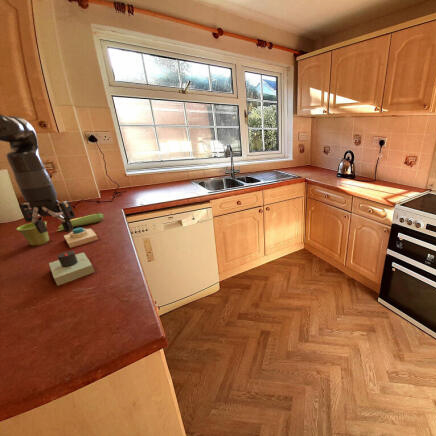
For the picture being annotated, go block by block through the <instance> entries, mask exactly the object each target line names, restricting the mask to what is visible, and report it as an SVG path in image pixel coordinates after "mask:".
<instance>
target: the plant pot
mask: <svg viewBox="0 0 436 436" xmlns="http://www.w3.org/2000/svg"><path fill="white" fill-rule="evenodd" d="M43 221H44V224H45V226H46V227H47V221H46V220H43ZM16 231H18V233H20V234H22V236H23V237H24V239H25V240H26V242H28V244H29V245H30V246H31V247H35V246H42V245H44V244H47V243H48V242H50V236H49V233H48V231H47V232H44V233H39V232H38V230H37V228H36V226H35V224H34V223H32V222H28V223H26V224H21V225H20V226H18V227H17V228H16Z"/></svg>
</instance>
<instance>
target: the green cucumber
mask: <svg viewBox="0 0 436 436" xmlns="http://www.w3.org/2000/svg"><path fill="white" fill-rule="evenodd" d="M104 217H105V215H104V214H103V213H100V212H96V213H95V212H94V213H91V214H87V215H83V216H80V217H77V218H76V217H75V218H72V219H71V220H70V221H71V224H72V226H73V228H78V227H82V226H86V225H91V224H96V223H99V222H101V221H102V220H103V219H104ZM58 231H59V232H60V231H65V230H64V227H63V225H62V224H59V226H58V229H57V230H56V232H58Z"/></svg>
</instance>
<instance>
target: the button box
mask: <svg viewBox="0 0 436 436" xmlns="http://www.w3.org/2000/svg"><path fill="white" fill-rule="evenodd" d="M83 230H84V232H81V233H78V234H74V233H73V231H70V232H68V234H64V235H63V237H64V240H65V241H66V244H67V245H68V247H69V248H70V249H71V248H75V247H77V246H81V245H85V244H88V243H91V242H94V241H97V240H99V238H98V234H97V233H96V232H95V231H94V230H93V229H92V228H83Z"/></svg>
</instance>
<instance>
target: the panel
mask: <svg viewBox="0 0 436 436" xmlns="http://www.w3.org/2000/svg"><path fill="white" fill-rule="evenodd" d="M75 256H76V258H77V260H78V263H76V264H75V265H73V266H70V267H62V266H61V264H60V261H59V259H57V260H54V261H51V262H49V263H48V266H49V269H50V271H51V274H52V278H53V279H54V281H55V283H56V286H57V287H59V286H61V285H64V284H66V283H69V282H72V281H75V280H77V279H80V278H83V277H86V276H88V275H91V274H93V273H96V272H95V268H94V266H93V264H92V263H91V261H90V260H89V258H88V257H87V255H86V253H85V252H84V251H83V252H80V253H75Z"/></svg>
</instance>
